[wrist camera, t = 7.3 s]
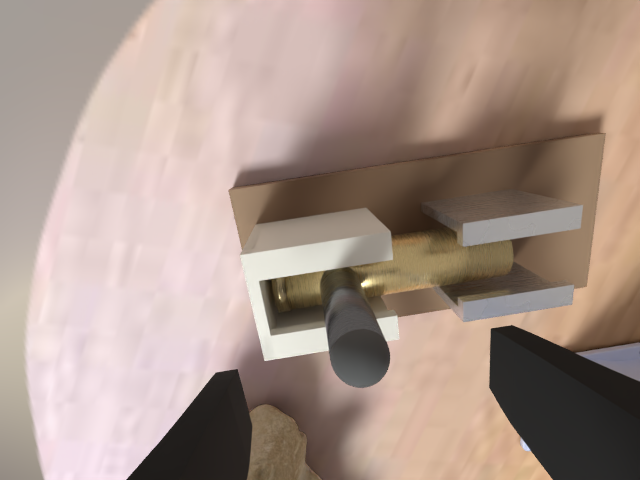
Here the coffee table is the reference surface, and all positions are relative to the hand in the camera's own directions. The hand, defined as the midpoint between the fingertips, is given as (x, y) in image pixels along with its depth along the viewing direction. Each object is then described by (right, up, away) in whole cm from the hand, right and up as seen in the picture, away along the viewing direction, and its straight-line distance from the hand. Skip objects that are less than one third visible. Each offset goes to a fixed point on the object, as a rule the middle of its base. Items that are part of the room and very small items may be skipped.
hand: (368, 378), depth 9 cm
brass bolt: (+2, +3, +8) cm, 9 cm away
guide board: (+4, +4, +10) cm, 12 cm away
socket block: (-2, +3, +10) cm, 10 cm away
